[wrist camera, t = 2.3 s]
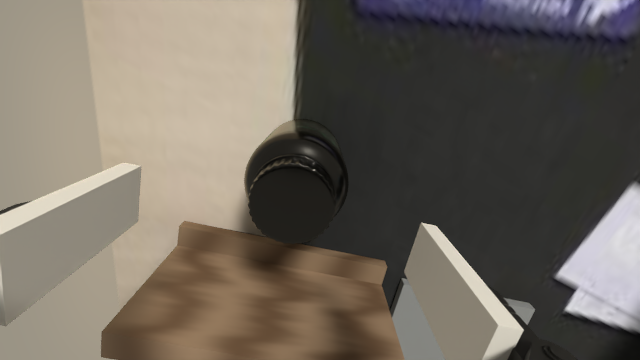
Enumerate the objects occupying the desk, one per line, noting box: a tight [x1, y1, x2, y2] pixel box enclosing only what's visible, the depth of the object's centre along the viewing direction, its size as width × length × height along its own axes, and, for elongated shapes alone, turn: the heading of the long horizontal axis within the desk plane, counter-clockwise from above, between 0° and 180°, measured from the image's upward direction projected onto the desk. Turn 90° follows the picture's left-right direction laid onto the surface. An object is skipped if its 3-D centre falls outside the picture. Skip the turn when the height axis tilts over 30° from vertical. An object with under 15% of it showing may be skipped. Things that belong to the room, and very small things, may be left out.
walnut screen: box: [101, 221, 405, 360], centre depth 26 cm, size 20×6×12 cm, turn 77°
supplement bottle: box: [244, 119, 348, 244], centre depth 23 cm, size 7×7×12 cm
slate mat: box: [390, 278, 535, 360], centre depth 34 cm, size 14×14×1 cm
